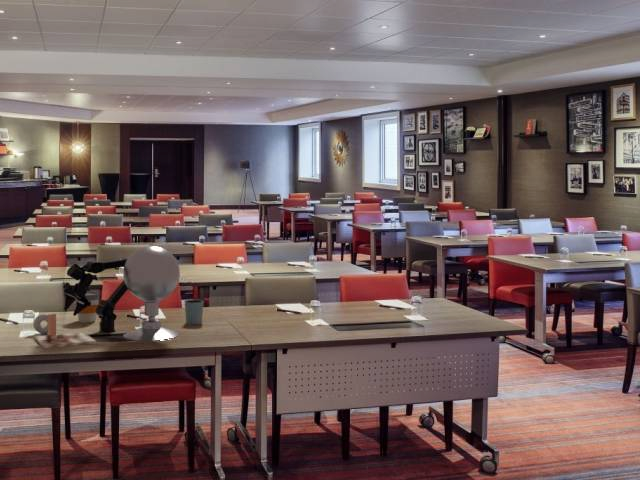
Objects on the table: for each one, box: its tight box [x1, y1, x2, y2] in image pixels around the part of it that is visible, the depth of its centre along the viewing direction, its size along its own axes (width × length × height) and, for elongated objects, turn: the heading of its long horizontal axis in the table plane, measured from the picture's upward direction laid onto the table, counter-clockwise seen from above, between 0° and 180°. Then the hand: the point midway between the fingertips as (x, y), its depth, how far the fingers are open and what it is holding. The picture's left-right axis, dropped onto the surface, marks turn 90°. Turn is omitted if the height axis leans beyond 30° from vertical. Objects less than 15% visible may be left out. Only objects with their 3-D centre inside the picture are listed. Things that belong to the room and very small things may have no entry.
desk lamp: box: [122, 245, 181, 342], centre depth 423 cm, size 28×28×45 cm
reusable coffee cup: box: [75, 291, 100, 324], centre depth 456 cm, size 13×13×15 cm
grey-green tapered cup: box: [184, 299, 204, 325], centre depth 458 cm, size 10×10×12 cm
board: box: [33, 332, 97, 349], centre depth 407 cm, size 24×22×4 cm
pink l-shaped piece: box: [45, 313, 69, 342], centre depth 404 cm, size 12×6×11 cm, turn 52°
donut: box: [32, 313, 49, 335], centre depth 422 cm, size 10×4×10 cm, turn 114°
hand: (69, 312), depth 416 cm, fingers open, 9 cm apart
